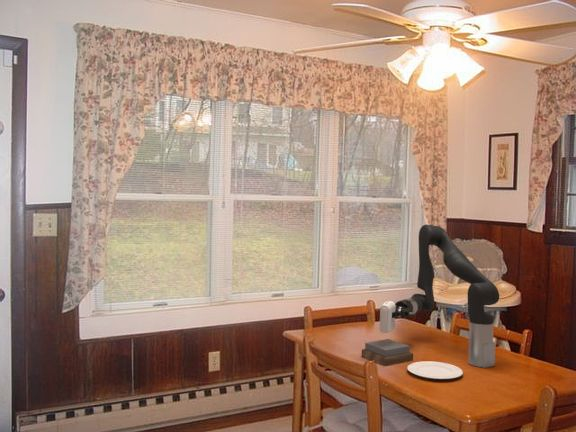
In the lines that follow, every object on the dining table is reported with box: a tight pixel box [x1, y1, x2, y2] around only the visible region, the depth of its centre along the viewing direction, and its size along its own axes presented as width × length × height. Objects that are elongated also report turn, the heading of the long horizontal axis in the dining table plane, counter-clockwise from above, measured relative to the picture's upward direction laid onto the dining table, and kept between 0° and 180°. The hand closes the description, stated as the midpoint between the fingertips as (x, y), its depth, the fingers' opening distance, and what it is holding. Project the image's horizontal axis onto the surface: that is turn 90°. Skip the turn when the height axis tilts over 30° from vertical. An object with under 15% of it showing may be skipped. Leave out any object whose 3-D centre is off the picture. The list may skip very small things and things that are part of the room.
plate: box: [406, 360, 464, 381], centre depth 214 cm, size 21×21×2 cm
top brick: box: [364, 338, 411, 358], centre depth 233 cm, size 13×13×3 cm
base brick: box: [361, 348, 414, 367], centre depth 233 cm, size 15×15×3 cm
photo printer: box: [379, 300, 396, 334], centre depth 233 cm, size 10×4×12 cm, turn 151°
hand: (386, 314), depth 233 cm, fingers closed on photo printer, 5 cm apart
